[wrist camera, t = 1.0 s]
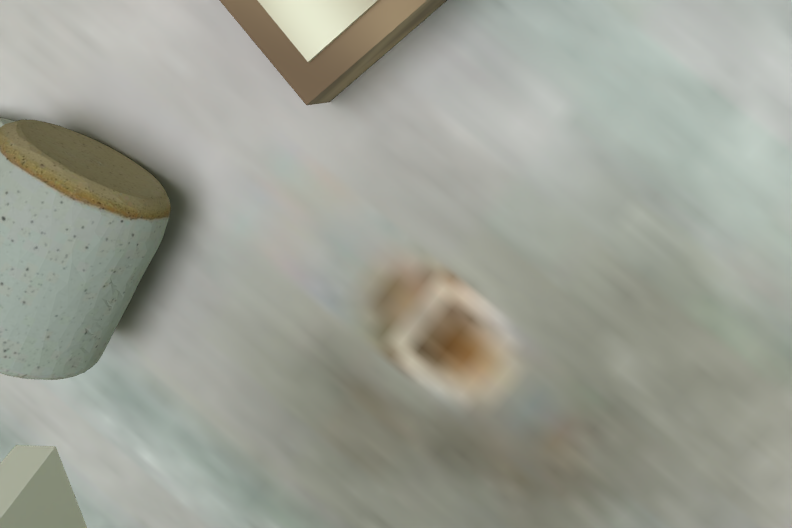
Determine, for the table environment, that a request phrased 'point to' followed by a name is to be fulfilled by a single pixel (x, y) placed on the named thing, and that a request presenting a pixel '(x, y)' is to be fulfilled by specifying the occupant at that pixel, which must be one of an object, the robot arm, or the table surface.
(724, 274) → the table surface
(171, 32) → the table surface
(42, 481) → the robot arm
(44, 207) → the ceramic mug
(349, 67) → the pedestal
